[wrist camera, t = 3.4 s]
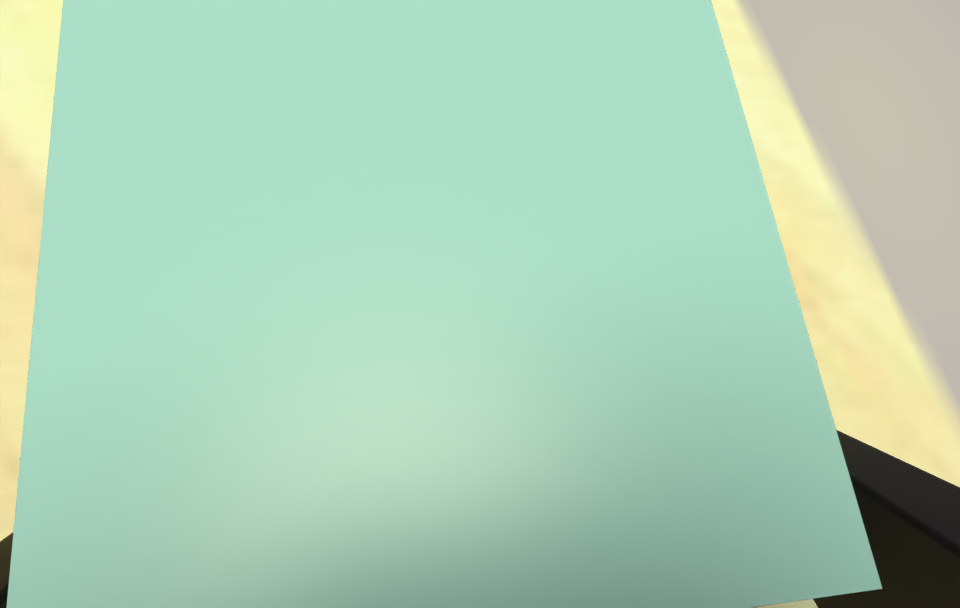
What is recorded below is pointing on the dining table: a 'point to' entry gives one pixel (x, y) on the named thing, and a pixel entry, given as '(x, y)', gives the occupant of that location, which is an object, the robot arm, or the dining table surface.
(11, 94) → the dining table surface
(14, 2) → the dining table surface
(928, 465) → the dining table surface
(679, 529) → the plug
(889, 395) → the dining table surface
